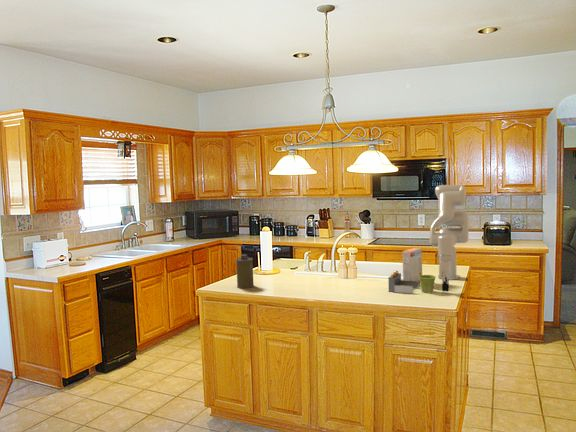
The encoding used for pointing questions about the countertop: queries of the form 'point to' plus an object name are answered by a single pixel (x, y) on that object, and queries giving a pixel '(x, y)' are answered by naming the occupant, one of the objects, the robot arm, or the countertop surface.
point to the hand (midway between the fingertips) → (445, 290)
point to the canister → (244, 272)
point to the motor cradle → (401, 284)
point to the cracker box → (412, 264)
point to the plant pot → (427, 283)
